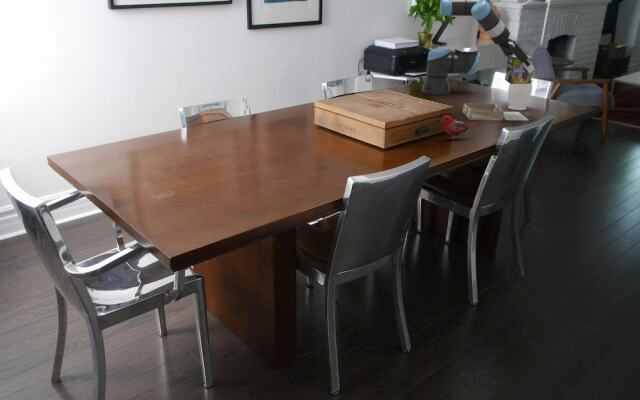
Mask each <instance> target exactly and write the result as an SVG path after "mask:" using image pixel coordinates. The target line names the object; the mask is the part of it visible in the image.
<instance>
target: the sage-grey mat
mask: <svg viewBox="0 0 640 400" xmlns="http://www.w3.org/2000/svg"><path fill="white" fill-rule="evenodd" d="M503 120H505V121H520V122H521V121H522V122H523V121H526V122H528V121H529V119H528V118H527V117H526V116H524V115H523V114H522V113H521V112H520V111H504V116H503Z"/></svg>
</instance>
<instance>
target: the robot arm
mask: <svg viewBox="0 0 640 400" xmlns="http://www.w3.org/2000/svg"><path fill="white" fill-rule="evenodd" d="M439 4H440V5H439V15H440V16H447V17H451V16H454V17H459V16H460V17H461V23H460V32H459V40H458V44H457V46H455V48H454V50H453V51H452V49H451V48H449V47H440V48H435V49H431V50H429V51H428V54H427V66H426V74H425V75H426V77H425V79H424V82H423V83H422V87H421V93H423V94H426V95H431V96H446V95H450V91H451V88H450V83H449V79H448V78H449V74H453V75H454V74H455V75H473V74H475V73H476V71H477V70H478V67H479V64H480V59H481V58H480V57H481V53H480V52H479V51H478V47H477V45H476V44H477V35H478V29H479V25H480V26H481V28H482V29H483V30H484V32H485V35H486V36H488V37H489V38H490V40H491V41H492V42H493V43H494V44H495V45H496V46H497V45H498V46H499V48H500V49H501V51H502V52H503V54H504V56H505V57H507V58H508V56H509V55H515V56H516V57H517V58H518V59H519V60H520V61H521V64H523V66H524V67H525V68H526V69H527V71H528V72H529V73H531V72H532V71H534V70H535V67H534V65H533V66H532V64H531V63H530V62H529V60H528V56H529V55H528V56H527V54H526V53H525V52H524V51H523V49H522V48H521V47H520V46H519V45H518V44H517V43H516V41H515V40H512V39H511V38H510V36H511V31H510V30H509V29H508V27H506V25H505V23H504V22H503V21H502V20H501V18H500V17H499V16H498V15H497V13H496V12H495V10H494V8H493V6H492V5H493V4H492V2H491V0H440V2H439ZM521 49H522V50H521ZM532 73H533V72H532Z"/></svg>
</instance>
